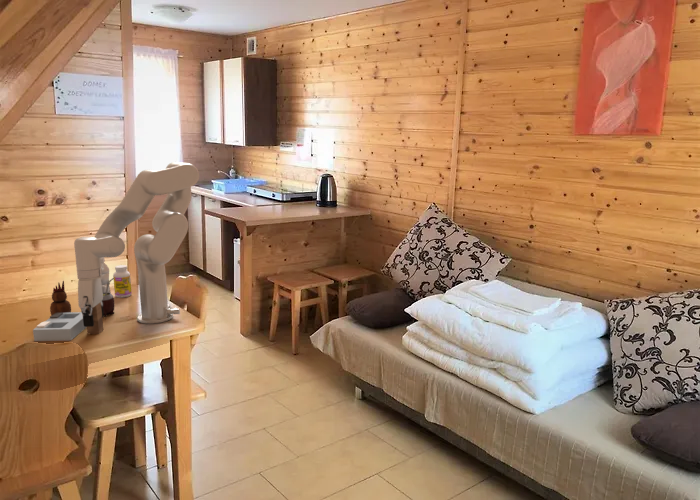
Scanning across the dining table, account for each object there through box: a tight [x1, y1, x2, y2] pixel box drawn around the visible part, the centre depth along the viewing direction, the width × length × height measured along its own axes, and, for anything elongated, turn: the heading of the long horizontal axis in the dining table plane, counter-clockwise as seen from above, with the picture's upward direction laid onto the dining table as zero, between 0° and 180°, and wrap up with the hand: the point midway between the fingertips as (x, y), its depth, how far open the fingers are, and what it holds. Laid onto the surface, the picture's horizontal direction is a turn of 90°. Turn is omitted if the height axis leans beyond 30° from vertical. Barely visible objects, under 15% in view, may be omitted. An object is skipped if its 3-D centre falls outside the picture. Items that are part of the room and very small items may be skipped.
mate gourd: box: [101, 277, 115, 318], centre depth 215 cm, size 8×8×15 cm
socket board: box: [32, 311, 87, 342], centre depth 199 cm, size 12×18×5 cm, turn 3°
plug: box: [86, 303, 104, 335], centre depth 198 cm, size 4×4×10 cm
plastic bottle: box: [100, 257, 112, 294], centre depth 225 cm, size 6×7×20 cm
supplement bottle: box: [112, 264, 133, 299], centre depth 240 cm, size 7×7×13 cm
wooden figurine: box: [49, 280, 72, 316], centre depth 209 cm, size 7×6×15 cm
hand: (94, 321), depth 198 cm, fingers open, 8 cm apart
